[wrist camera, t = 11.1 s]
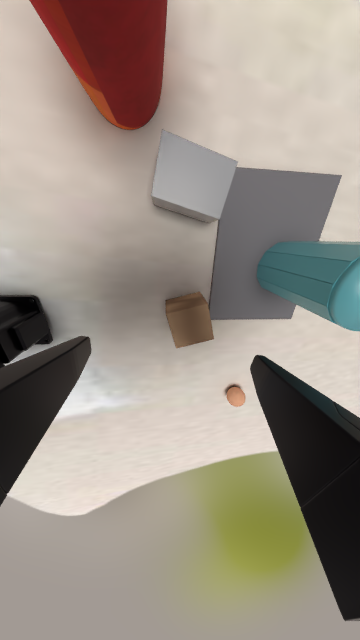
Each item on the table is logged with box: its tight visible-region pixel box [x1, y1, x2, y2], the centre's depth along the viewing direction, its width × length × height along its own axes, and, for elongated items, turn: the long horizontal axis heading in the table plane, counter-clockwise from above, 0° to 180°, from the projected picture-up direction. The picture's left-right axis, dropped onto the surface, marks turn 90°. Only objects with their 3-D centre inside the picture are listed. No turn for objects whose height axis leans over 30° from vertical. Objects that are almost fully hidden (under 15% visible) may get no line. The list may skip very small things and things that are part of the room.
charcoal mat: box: [209, 167, 342, 320], centre depth 20 cm, size 12×16×1 cm
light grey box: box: [151, 129, 238, 223], centre depth 15 cm, size 6×4×4 cm, turn 75°
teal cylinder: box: [257, 241, 360, 331], centre depth 16 cm, size 6×6×10 cm
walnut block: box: [166, 292, 214, 348], centre depth 20 cm, size 4×4×4 cm
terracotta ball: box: [227, 387, 245, 407], centre depth 28 cm, size 3×3×3 cm
